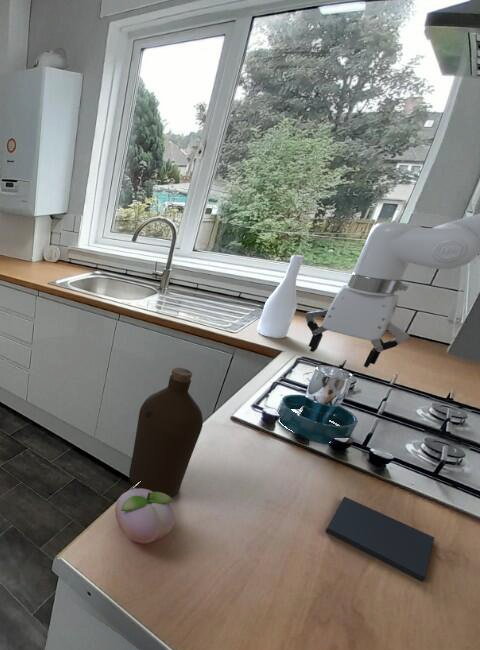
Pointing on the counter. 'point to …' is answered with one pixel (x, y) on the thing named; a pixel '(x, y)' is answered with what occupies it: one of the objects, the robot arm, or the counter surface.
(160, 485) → the olive oil
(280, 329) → the wine bottle
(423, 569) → the mat
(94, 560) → the counter surface
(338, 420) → the pan
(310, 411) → the beer glass
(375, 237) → the robot arm
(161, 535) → the decorative fruit
